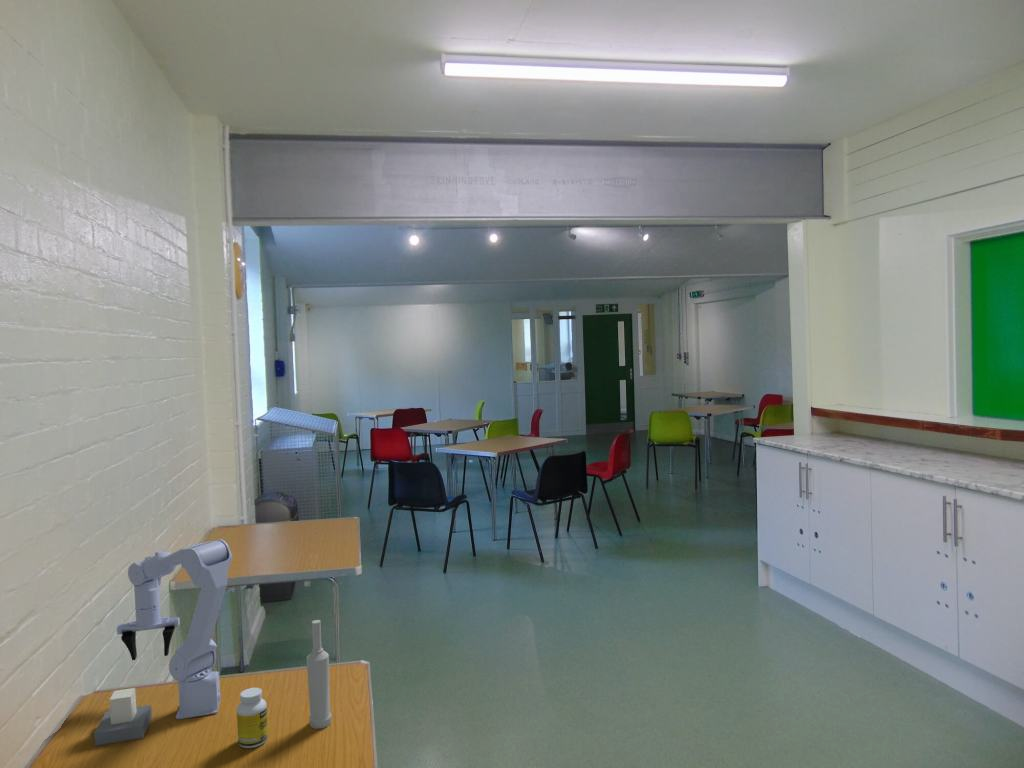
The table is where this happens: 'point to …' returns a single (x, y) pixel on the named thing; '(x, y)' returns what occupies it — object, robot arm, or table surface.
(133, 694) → the cream block
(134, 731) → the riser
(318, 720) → the bottle
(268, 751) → the table surface
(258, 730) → the pill bottle
